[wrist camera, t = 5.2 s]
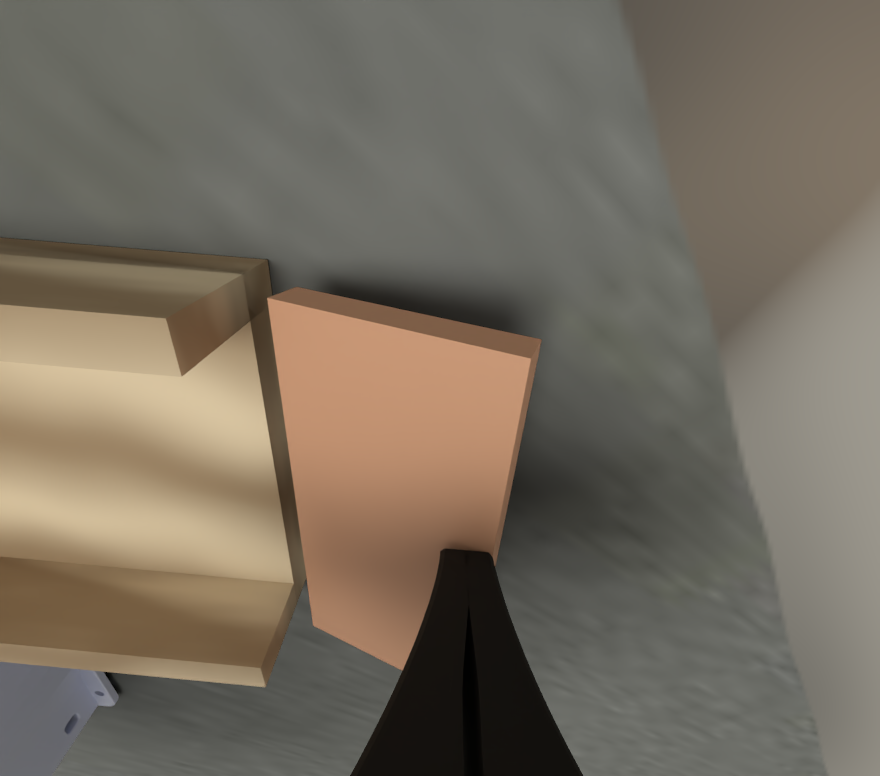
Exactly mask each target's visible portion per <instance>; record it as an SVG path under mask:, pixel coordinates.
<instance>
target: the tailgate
mask: <svg viewBox="0 0 880 776" xmlns="http://www.w3.org/2000/svg"><path fill="white" fill-rule="evenodd" d="M267 301H268V308H269V315H270V322H271V329H272V336H273V343H274V350H275V357H276V364H277V372H278V379H279V386H280V393H281V400H282V407H283V414H284V421H285V428H286V435H287V442H288V450H289V457H290V464H291V471H292V478H293V485H294V492H295V499H296V506H297V513H298V521H299V528H300V535H301V542H302V549H303V556H304V563H305V570H306V577H307V584H308V592H309V599H310V606H311V613H312V620H313V626H315V627H317V628H319V629H321V630H323V631H325V632H327V633H329V634H331V635H333V636H335V637H337V638H339V639H341V640H343V641H345V642H347V643H349V644H351V645H353V646H354V647H356V648H358V649H360V650H362V651H364V652H366V653H368V654H370V655H372V656H374V657H376V658H378V659H380V660H382V661H384V662H386V663H388V664H390V665H392V666H394V667H396V668H398V669H400V670H402V671H403V669H404V666H405V664H406V661H407V659H408V657H409V654H410V652H411V649H412V647H413V645H414V642H415V640H416V637H417V635H418V632H419V629H420V626H421V624H422V621H423V618H424V615H425V612H426V609H427V606H428V604H429V600H430V597H431V594H432V590H433V587H434V583H435V579H436V575H437V570H438V565H439V559H440V551H441V550H443V549H445V548H447V549H458V550H469V551H480V552H489V553H490V554H491V556H492V557H493V561H494V566H496V561H497V556H498V551H499V546H500V542H501V537H502V532H503V527H504V522H505V517H506V512H507V507H508V502H509V497H510V493H511V488H512V483H513V478H514V473H515V468H516V463H517V458H518V453H519V448H520V443H521V439H522V434H523V429H524V424H525V419H526V414H527V409H528V404H529V399H530V394H531V389H532V385H533V380H534V375H535V370H536V365H537V360H538V355H539V350H540V345H541V339H537V338H532V337H528V336H523V335H518V334H514V333H509V332H504V331H500V330H495V329H490V328H486V327H481V326H476V325H472V324H467V323H462V322H458V321H453V320H448V319H444V318H439V317H434V316H430V315H425V314H420V313H416V312H411V311H407V310H402V309H397V308H393V307H388V306H383V305H379V304H374V303H369V302H365V301H360V300H355V299H351V298H346V297H341V296H337V295H332V294H327V293H323V292H318V291H313V290H309V289H304V288H299V287H295V288H292V289H290V290H287V291H284V292H282V293H279V294H276V295H273V296H271V297H268V298H267Z"/></svg>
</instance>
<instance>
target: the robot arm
mask: <svg viewBox="0 0 880 776" xmlns="http://www.w3.org/2000/svg"><path fill="white" fill-rule="evenodd" d="M118 699H119V696H118V694H117V692H116V691H115V689H114V688H113V686H112V684H111V683H110V681H109V680H108V678H107V676H106V675H105V673H104V672H102V671H92V670H81V669H71V668H60V667H50V666H40V665H29V664H19V663H8V662H0V776H52V774H53V773H54V771H55V770H56V768H57V767H58V765H59V764H60V762H61V761H62V759H63V758H64V756H65V755H66V753H67V752H68V750H69V749H70V747H71V746H72V744H73V743H74V741H75V740H76V738H77V736H78V735H79V733H80V732H81V730H82V729H83V727H84V726H85V724H86V723H87V721H88V720H89V718H90V717H91V715H92V714H93V712H94V711H95V709H96V708H97V706H98V705H99V706H113V705H115V703H116V702H117V700H118ZM350 776H583V774H582V773H581V771H580V769H579V767H578V765H577V763H576V761H575V759H574V758H573V756H572V754H571V752H570V750H569V748H568V746H567V744H566V742H565V740H564V738H563V737H562V735H561V733H560V731H559V729H558V727H557V725H556V723H555V721H554V719H553V717H552V715H551V712H550V710H549V708H548V706H547V704H546V702H545V700H544V698H543V695H542V693H541V691H540V689H539V687H538V684H537V682H536V680H535V678H534V675H533V673H532V671H531V669H530V666H529V664H528V661H527V659H526V657H525V654H524V652H523V649H522V647H521V644H520V642H519V639H518V636H517V634H516V631H515V629H514V626H513V623H512V621H511V618H510V615H509V612H508V609H507V606H506V603H505V600H504V597H503V594H502V591H501V588H500V584H499V581H498V577H497V574H496V570H495V566H494V561H493V557H492V556H491V554H490V553H489V552H480V551H469V550H458V549H447V548H445V549H443V550H441V551H440V559H439V565H438V570H437V575H436V579H435V583H434V587H433V590H432V594H431V597H430V600H429V604H428V606H427V609H426V612H425V615H424V618H423V621H422V624H421V626H420V629H419V632H418V635H417V637H416V640H415V642H414V645H413V647H412V649H411V652H410V654H409V657H408V659H407V661H406V664H405V666H404V669H403V671H402V673H401V676H400V678H399V680H398V682H397V685H396V687H395V689H394V691H393V693H392V695H391V697H390V700H389V702H388V704H387V706H386V708H385V710H384V712H383V714H382V716H381V718H380V720H379V722H378V724H377V726H376V728H375V730H374V732H373V734H372V736H371V738H370V740H369V742H368V743H367V745H366V747H365V749H364V751H363V753H362V755H361V757H360V759H359V761H358V763H357V764H356V766H355V768H354V770H353V772H352V774H351V775H350Z"/></svg>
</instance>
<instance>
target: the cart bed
mask: <svg viewBox="0 0 880 776" xmlns="http://www.w3.org/2000/svg"><path fill="white" fill-rule="evenodd" d="M271 296H272V288H271V281H270V274H269V266H268V260H265V259H253V258H241V257H229V256H217V255H205V254H193V253H180V252H168V251H156V250H144V249H132V248H120V247H108V246H95V245H83V244H71V243H59V242H47V241H35V240H23V239H10V238H0V662H8V663H19V664H29V665H40V666H50V667H60V668H71V669H81V670H92V671H102V672H112V673H123V674H133V675H144V676H154V677H165V678H175V679H185V680H196V681H206V682H217V683H227V684H238V685H248V686H258V687H266V685H267V683H268V680H269V677H270V674H271V672H272V669H273V666H274V664H275V661H276V658H277V656H278V653H279V650H280V647H281V645H282V642H283V639H284V637H285V634H286V631H287V629H288V626H289V623H290V620H291V618H292V615H293V612H294V610H295V607H296V604H297V602H298V599H299V596H300V593H301V591H302V588H303V585H304V583H305V580H306V570H305V563H304V556H303V549H302V542H301V535H300V528H299V521H298V513H297V506H296V499H295V492H294V485H293V478H292V471H291V464H290V457H289V450H288V442H287V435H286V428H285V421H284V414H283V407H282V400H281V393H280V386H279V379H278V372H277V364H276V357H275V350H274V343H273V336H272V329H271V322H270V315H269V308H268V301H267V298H268V297H271Z"/></svg>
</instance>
